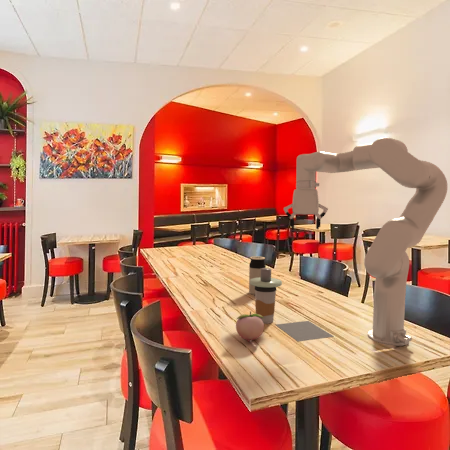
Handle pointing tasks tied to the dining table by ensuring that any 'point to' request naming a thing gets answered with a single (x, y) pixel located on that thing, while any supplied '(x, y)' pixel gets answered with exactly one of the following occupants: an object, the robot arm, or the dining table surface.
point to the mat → (304, 331)
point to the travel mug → (255, 270)
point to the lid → (265, 279)
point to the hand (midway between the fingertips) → (305, 228)
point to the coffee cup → (265, 303)
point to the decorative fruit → (249, 326)
